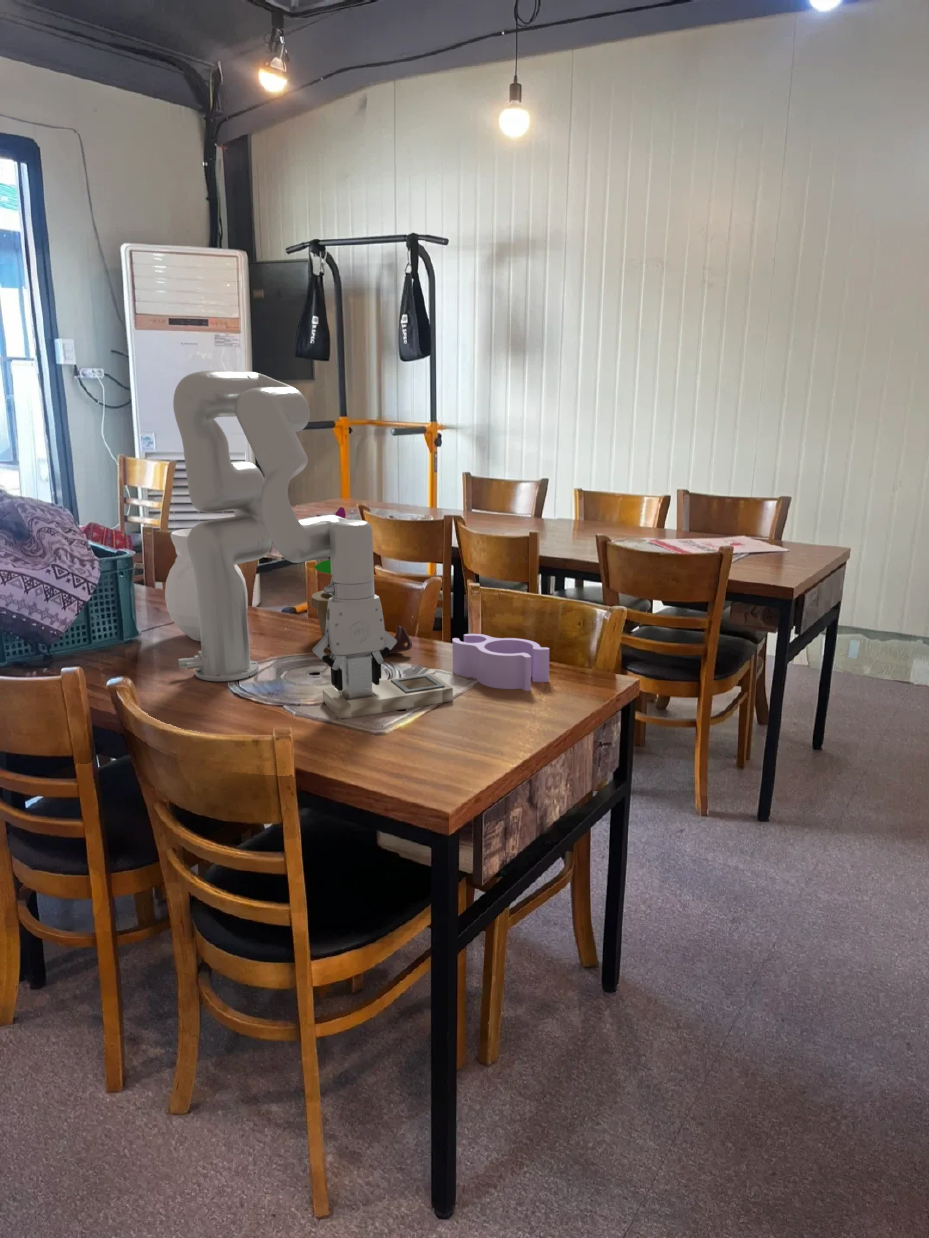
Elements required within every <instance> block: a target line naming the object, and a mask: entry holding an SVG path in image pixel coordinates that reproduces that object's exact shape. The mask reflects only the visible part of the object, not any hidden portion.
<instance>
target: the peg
mask: <svg viewBox="0 0 929 1238" xmlns="http://www.w3.org/2000/svg"><path fill="white" fill-rule="evenodd" d="M371 660H372V656H371V654H370V653H364V654H356V655H349V656H343V658H342V661H341V663H340V669H341V670H342V681H343V690H342V696H343V697H344V698H345V699H346V700H347V701H348V700H355V699H361V698H367V697H373V696H372V664H371Z"/></svg>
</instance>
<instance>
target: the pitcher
mask: <svg viewBox="0 0 929 1238" xmlns="http://www.w3.org/2000/svg"><path fill="white" fill-rule="evenodd" d="M193 528H194V527H191V528H183V529H177V530H174V531H172V532H171V533H170V538H171V542H172V545H173V546H174V548H175V554H176V558H175V559H174V563H173V565H172V566H171V568H170V569H169V572H168V575H167V578H166V580H165V586H164V587H165V590H164V598H165V605H166V608H167V611H168V614H169V617H170V619H171V621H173V622H174V624H175V625H176V626H177V627H178V628H179V630H181V632H182V633H184V634H185V635H187V636H188V637H189V638H190V639H191V640H194V641H195V642H201V638H200V626H199V614H198V601H197V592H196V582H195V575H194V571H193V566H192V563H191V559H190V556H189V552H188V547H187V538H188V535H189V533H190V531H191V530H192V529H193ZM234 567H235V569H236V571H237V573H238V574H239V576H240V577H241V579H242V580H243V583H244V586H245V591H246V604H247V609H248V607H249V606H248V605H249V600H248V599H249V598H248V595H249V594H248V588H247V584H246V578H245V576H244V575H243V573H242V570H241V568H240V567H239V566H238V564H237V565H234Z"/></svg>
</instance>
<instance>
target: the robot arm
mask: <svg viewBox="0 0 929 1238" xmlns="http://www.w3.org/2000/svg"><path fill="white" fill-rule="evenodd" d="M172 400H173V401H172V402H173V403H172V405H173V407H172V408H173V414H174V418H175V420H176V425H177V427H178V430H179V434H180V437H181V440H182V447H183V448H182V449H183V456H184V457H183V458H184V465H185V473H186V479H187V488H188V495H189V499H190V502H191V504H192V506H193V507H194V509H196V510H197V511H199V512H201V513H206V514H207V513H209V514H210V513H220V512H226V511H233V514H234V516H229V517H228V516H227V517H220V518H215V519H209V520H204V521H202V522H199V523H198V524H196V525H195V526H193V527H192V528H193V529H192V530H191V531H190V533H189V535H188V538H187V547H188V552H189V556H190V559H191V563H192V566H193V571H194V575H195V582H196V592H197V601H198V614H199V626H200V638H201V641H200V647H201V650H198V651H197V652H198V653H197V654H196V655H193V657H183V658H178V659H177V662H178V668H179V669H184V668H186V670H193V669H195V670H194V671H195V672H194V673H195V677H196V678H198V679H200V680H203V681H208V682H230V681H231V682H233V681H237V680H243V679H247V678H250V677H252V676H254V675H256V674H257V673H258V672H259V663H257V661H254V660H253V659H252V660H251V650H250V649H251V648H250V637H249V636H250V635H249V624H248V623H249V621H248V608H247V604H246V591H245V586H244V583H243V580H242V579H241V577H240V576H239V574H238V573H237V571H236V569H235V567H234V565H237V566H238V565H239V564H244V563H248V562H254V561H257V560H260V559H262V558H265V556H267V555H268V553H269V552H270V550H271V547H272V543H273V545H274V547H275V548H276V550H277V552H278V553H279V554H280V555H281V557H283V558H284V559H285V561H289V562H291V563H297V564H300V563H305V562H309V561H310V562H311V561H314V560H319V559H324V558H328V557H330V559H331V574H330V577H331V578H330V579H331V580H330V582H329V583H330V584H328V586H324V587H323V590H324V593H325V594H331V595H332V597H331V598H329V601H328V607H327V615H326V634H325V636H324V637H323V638H322V637H321V639H320V640H319V641H318V642H317V644H316V645H314V647H313V648H312V649H311V650H312V653H313V654H314V655H316V656H317V657H318V658H319V659H320V660H321V661H322V662H324V663H325V664H326V665H328V667H330V680H331V681H330V682H331V685H332V686H333V688H336V689H337V690H338V691H342V690H343V681H342V670H341V661H342V658H343V656H349V655H356V654H364V653H368V654H369V655H370V656H371V664H372V682H373V683H374V684H375V685H379V681H380V679H382V664H383V663H384V660H385V659H386V657H387V656H388V655H390V654H389V652H390V650H391V649H392V648H393V647H394V645H395V644H396V643H397V640H396V639H395V638H394V637H395V636H392V634H390V633H389V632H388V631H386V629H385V628H386V627H385V620H384V615H383V608H382V603H381V599H380V596H379V595H377V594H375V575H374V573H375V569H374V544H373V543H374V538H373V537H374V534H373V527H372V525H371V524H370V522H369V521H366V520H363V519H348V518H345V519H344V518H342V517H339V516H335V515H334V514H323V515H321V516H317V515H316V516H317V517H316V516H311V517H306V518H305V517H304V518H298V517H297V515H296V513H295V511H294V509H293V507H292V505H291V503H290V498H289V492H288V491H289V485H290V481H291V480H292V479H293V478H295V477H296V476H298V475H299V474H300V473H301V472H303V471H304V470H305V468H306V466H307V465H308V463H309V458H308V455H307V453H306V451H305V449H304V447H303V445H302V443H301V441H300V439H299V436H298V434H297V432H300V431H302V430H303V429H305V428H306V427H307V425H308V424H309V421H310V417H311V411H310V406H309V403H308V400H307V399H306V397H305V396H304V395H303V393H302V392H301V391H299V390H298V389H296V388H295V387H294V386H292V385H290V384H287V383H284V382H281V381H279V380H276V379H274V378H272V377H270V376H267V375H264V374H262V373H260V372H259V373H258V372H255V371H248V370H246V371H245V370H204V371H203V370H201V371H196V372H192V373H190V374H188V375H185V376H184V377H182V378H181V379H180V381H179V382H178V384H177V385H176V387H175V390H174V394H173V399H172ZM223 417H224V418H225V417H227V418H231V417H232V418H233V417H236V418H237V420H238V423H239V425H240V427H241V429H242V431H243V433H244V436H245V437H246V440H247V442H248V444H249V446H250V448H251V450H252V452H253V455H254V457H255V459H256V461H257V464H258V465H259V466H260V468H259V467H257V465H256V464H254V463H252V462H250V461H247V460H235V461H232V460H231V457H230V446H229V441H228V437H227V436H226V433H225V432H224V430H223V428H222V427H221V425H220V424H219V423H218V422H217V421H216V418H223ZM325 649H327V650H329V651H331V653H330V656H328V655H327V654H326V653H325V652H324V650H325ZM249 676H250V677H249Z"/></svg>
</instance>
